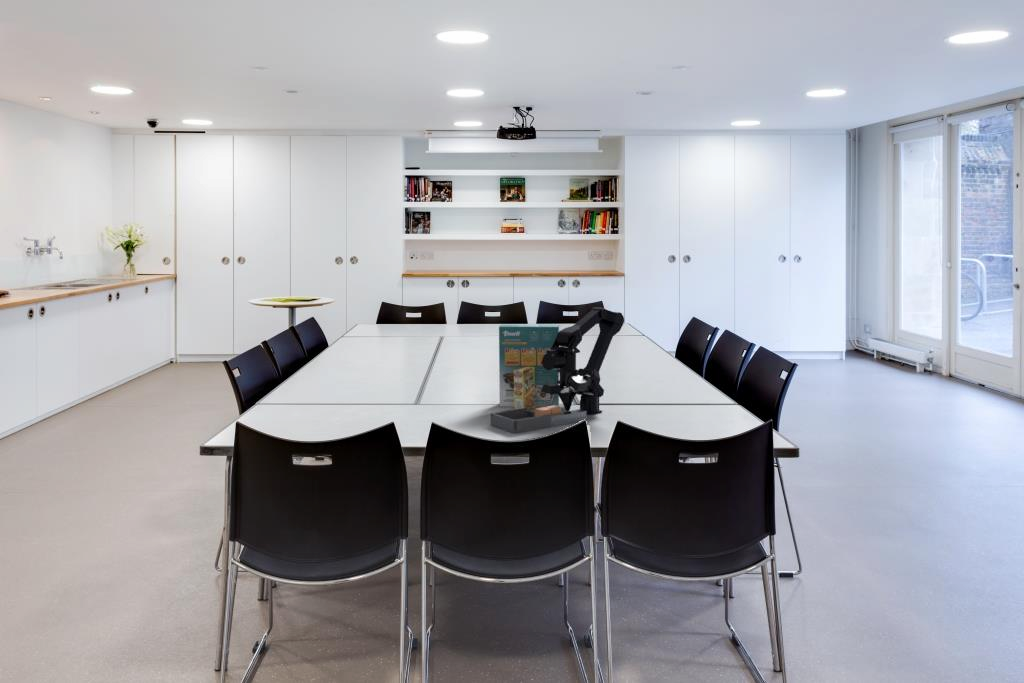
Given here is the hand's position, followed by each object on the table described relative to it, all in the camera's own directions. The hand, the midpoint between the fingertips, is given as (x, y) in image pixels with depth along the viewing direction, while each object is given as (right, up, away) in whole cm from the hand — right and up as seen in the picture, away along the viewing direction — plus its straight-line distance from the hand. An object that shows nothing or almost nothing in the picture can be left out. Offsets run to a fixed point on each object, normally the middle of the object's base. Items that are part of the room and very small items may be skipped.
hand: (567, 410), depth 296 cm
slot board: (-4, -3, -2) cm, 6 cm away
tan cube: (-9, -2, -6) cm, 11 cm away
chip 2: (-5, -2, -4) cm, 7 cm away
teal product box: (-13, 0, +22) cm, 25 cm away
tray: (-17, -4, -11) cm, 21 cm away
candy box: (-15, -1, +14) cm, 21 cm away
